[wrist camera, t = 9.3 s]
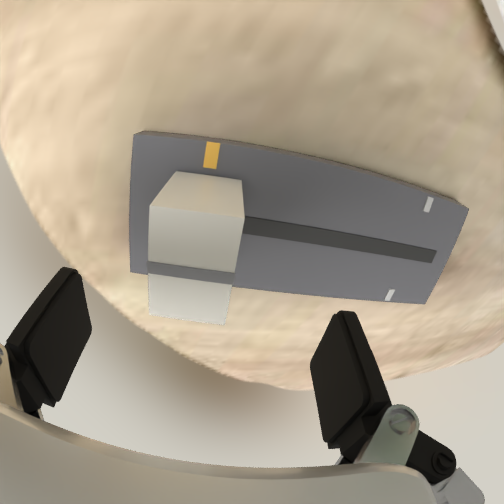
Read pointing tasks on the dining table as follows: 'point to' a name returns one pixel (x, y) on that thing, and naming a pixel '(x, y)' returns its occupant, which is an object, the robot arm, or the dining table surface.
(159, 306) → the fader tab
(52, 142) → the dining table surface
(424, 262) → the slider panel
